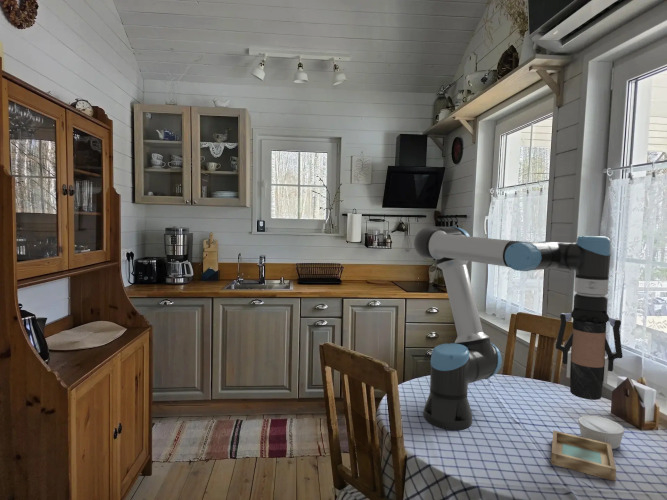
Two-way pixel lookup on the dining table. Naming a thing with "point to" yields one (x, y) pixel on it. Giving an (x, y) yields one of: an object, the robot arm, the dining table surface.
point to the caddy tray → (583, 455)
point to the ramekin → (601, 430)
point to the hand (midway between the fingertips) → (586, 379)
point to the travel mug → (587, 360)
